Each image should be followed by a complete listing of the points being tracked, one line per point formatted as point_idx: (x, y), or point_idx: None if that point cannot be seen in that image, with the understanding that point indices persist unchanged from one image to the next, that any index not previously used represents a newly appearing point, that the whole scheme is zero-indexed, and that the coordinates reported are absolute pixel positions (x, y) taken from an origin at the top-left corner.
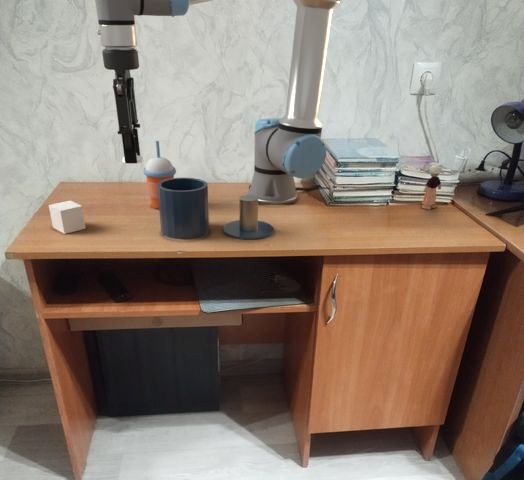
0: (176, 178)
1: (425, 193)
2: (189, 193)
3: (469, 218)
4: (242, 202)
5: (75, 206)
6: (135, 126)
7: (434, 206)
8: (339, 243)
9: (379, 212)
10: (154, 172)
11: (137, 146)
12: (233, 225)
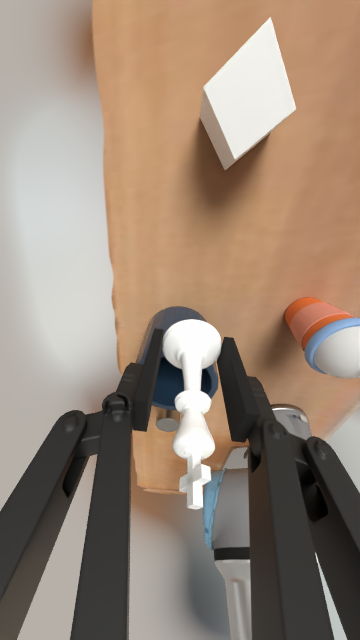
0: (213, 379)
1: None
2: None
3: None
4: (160, 416)
5: (234, 138)
6: (248, 447)
7: None
8: (140, 433)
9: (207, 465)
10: (318, 341)
11: (221, 382)
12: None
